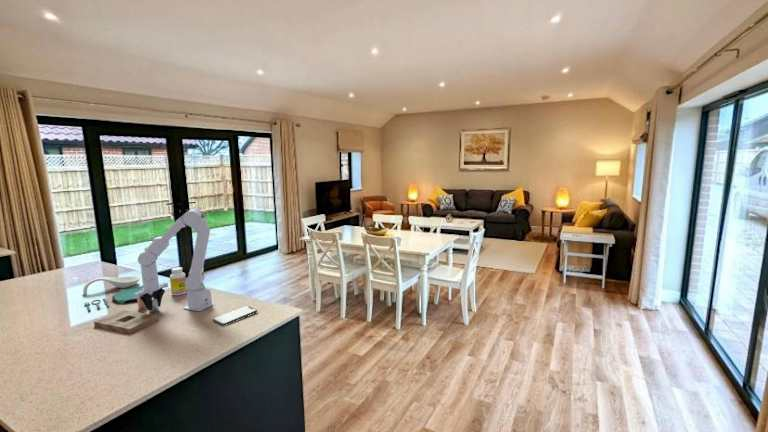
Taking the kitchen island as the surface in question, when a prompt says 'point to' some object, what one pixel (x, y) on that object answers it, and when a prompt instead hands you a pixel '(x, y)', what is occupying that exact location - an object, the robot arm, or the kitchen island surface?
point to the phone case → (234, 315)
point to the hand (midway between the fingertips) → (153, 307)
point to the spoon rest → (114, 282)
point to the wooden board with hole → (120, 324)
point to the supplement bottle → (178, 281)
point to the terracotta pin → (141, 304)
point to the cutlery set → (120, 297)
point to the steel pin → (154, 305)
